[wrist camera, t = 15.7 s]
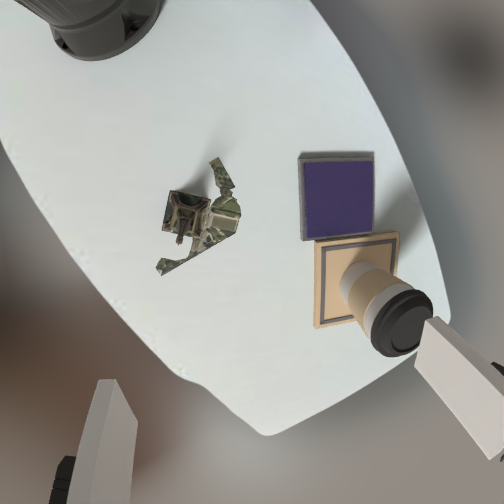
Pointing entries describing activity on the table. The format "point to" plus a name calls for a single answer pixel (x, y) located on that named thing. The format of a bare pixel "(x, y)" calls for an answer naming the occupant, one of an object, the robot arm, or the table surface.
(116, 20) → the robot arm
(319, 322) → the square wooden board
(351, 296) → the coffee cup
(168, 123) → the table surface
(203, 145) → the table surface
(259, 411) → the table surface
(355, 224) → the ink pad
